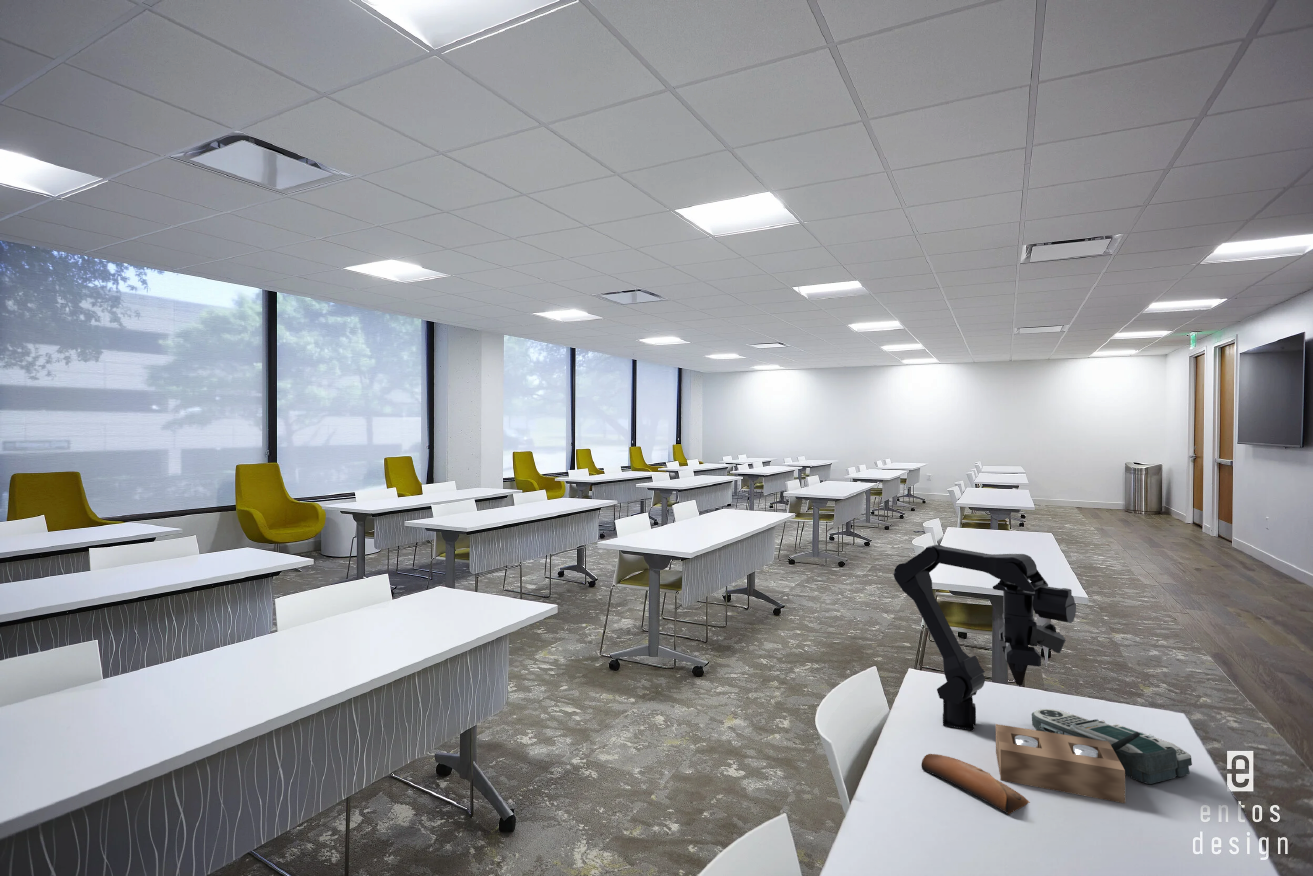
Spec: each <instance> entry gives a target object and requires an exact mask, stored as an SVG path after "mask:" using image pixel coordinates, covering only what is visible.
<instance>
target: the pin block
mask: <svg viewBox="0 0 1313 876" xmlns="http://www.w3.org/2000/svg"><path fill="white" fill-rule="evenodd" d="M1018 735H1023V736H1029V737H1032V738H1034V739H1036V740H1037V741H1038V748H1035V747H1029V746H1023V745H1017V744H1015V736H1018ZM1074 745H1086V746H1089V747H1092V748H1094V749H1096V750H1097V751H1098V758H1096V757H1090V756H1084V755H1078V754H1073V746H1074ZM995 755H996V760H997V766H998V771H999V778H1000V781H1003V782H1008V783H1015V784H1020V785H1023V786H1024V785H1025V786H1031V787H1036V788H1042V789H1047V790H1052V791H1057V792H1062V793H1067V794H1073V795H1079V796H1083V797H1084V796H1085V797H1087V798H1088V797H1089V798H1094V799H1101V800H1106V801H1109V802H1110V801H1111V802H1116V803H1121V804H1126V775H1125V770H1124V768H1123V766H1122V764H1121V762H1120V761H1119V759H1118V757H1117V755H1116V753H1115V752H1114V750H1113V748H1112V746H1111V744H1110V743H1109V742H1108V741H1102V740H1095V739H1089V738H1082V737H1076V736H1069V735H1063V734H1057V733H1050V732H1044V731H1037V730H1036V729H1029V728H1023V727H1015V726H1010V725H1003V724H997V723H995Z"/></svg>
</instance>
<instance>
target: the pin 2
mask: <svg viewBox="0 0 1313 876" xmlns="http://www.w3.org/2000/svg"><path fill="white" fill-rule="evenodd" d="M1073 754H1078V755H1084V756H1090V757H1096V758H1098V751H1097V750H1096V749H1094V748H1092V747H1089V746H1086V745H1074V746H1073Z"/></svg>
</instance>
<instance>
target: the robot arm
mask: <svg viewBox="0 0 1313 876" xmlns="http://www.w3.org/2000/svg"><path fill="white" fill-rule="evenodd" d="M939 564H943V565H946V566H951V567H957V568H963V569H967V570H972V571H977V572H983V573H986V574H988V575H990V576H992V577H993V578H996V579H998V580H999V581H998V583H996V584H994V585H992V589H993V590H997V591H1001V592H1002V594H1003V596H1002V598H1003V599H1002V601H1003V602H1002V603H1003V604H1002V606H1003V611H1002V621H1003V626H1002V627H1001V628H999V629H998V631H999V633H998V635H999V636H998V637H999V638H998V639H999V641H1000V642H1004V643H1005V644H1006V646H1005V645H1004V646H1001V649H1002V652H1003V656H1004V658H1005V660H1006V663H1007V665H1008V668H1009V670H1010V672H1011V674H1012V677H1013V679H1014V683H1015V684H1016V685H1017V686H1023V684H1024V680H1025V676H1026V672H1027V669H1028V666H1031V667H1041V666H1042V655H1041V654H1040V651H1038V650H1037V649H1036V648H1038V645H1040V646H1043V647H1044V648H1047V649H1050V650H1051V651H1053V653H1056V654H1061V652H1062V649H1063V647H1064V646H1065V643H1066V641H1067V640H1066V638H1065V637H1064V636H1065V635H1063V634H1061V633H1060V632H1057V629H1056V628H1057V627H1056V626H1055V624H1053V623H1050V622H1048V621H1047V622H1046V623H1044V624H1043V625H1042V624H1037V622H1036V620H1035V617H1034V614H1035V615H1037V616H1038V617H1039V618H1042V619H1047V620H1052V621H1058V622H1063V623H1069V624H1072V623H1073V622H1074V620H1075V618H1076V614H1077V603H1076V601H1075V598H1074V596H1073V594H1072V592H1073V591H1072V589H1071V588H1067V587H1066V588H1065V587H1062V588H1061V587H1053V586H1049V584H1048V582H1047V581H1046V580H1045V578H1044V577H1043V576H1042V575H1041V572H1039V570H1038V569H1037V564H1036V562H1035V560H1034V559H1033V558H1032V557H1031V556H1030V555H1028V554H1025V553H998V554H996V553H995V554H992V553H991V554H990V553H984V552H980V551H979V552H978V551H974V550H968V549H962V548H956V547H955V548H954V547H949V546H944V545H941V544H933V545H928V546H927V547H926V548H924V549H923V550H922V551H921V552H919V553H918V554H917V555H915V556H914V557H912V558H910V559H909V560H908V561H906V562H902V563H898V564H897V565H896V566H895V568H894V571H893V578H894V580H895V582H896V583H897V584H898V587H900V589H901V591H902V592H904V594H905V595H907V597H909V598H910V599H911V600H912V601H913V602H914V604H915V605H916V608H917V610H918V612H919V613H920V616H921V618H922V620H923V622H924V623H925V625H926V627H927V630H928V632H929V634H930V635H931V637H932V639H933V642H934V644H935V646H936V648H937V649H938V651H939V653H940V656H941V657H942V663H943V675H944V678H945V679H946V682H945V683H943V684H942V685H940V686H939V687H938V688H936V691H937V695H938V697H939V699H941V700H943V701H942V705H943V707H942V708H943V709H942V710H943V712H942V726H944V727H949V728H956V729H961V730H967V731H975V726H976V725H977V714H976V713H977V709H976V708H977V707H976V703H975V702H974V701H973V698H974V697H973V696H976V695H977V692H978V691H980V690H981V689H982V688H983V687H984V685H985V682H986V678H985V675H984V674H985V673H986V671H985V670H984V669H983V668H982V667H981V665H980V663H979V660H978V658H977V656H976V655H972V656H969V655H968V654H967V653H966V652H965V651H964V650H963V649H962V646H961V645H960V643H959V641H958V640H957V637H956V636H955V633H954V631H953V630H952V628H951V626H950V624H949V622H948V620H947V618H946V617H945V614H944V613H943V610H942V608H941V607H940V605H939V603H938V601H937V599H936V597H935V595H934V592H933V580H932V577H931V574H930V573H931V572H932V571H933V570H935V569H936V568H937V566H938V565H939ZM1035 647H1036V648H1035Z"/></svg>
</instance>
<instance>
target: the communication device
mask: <svg viewBox="0 0 1313 876" xmlns="http://www.w3.org/2000/svg"><path fill="white" fill-rule="evenodd" d="M1031 725H1032V727H1033V728H1034V730H1037V731H1044V732H1050V733H1057V734H1063V735H1069V736H1076V737H1082V738H1089V739H1095V740H1102V741H1108V742H1109V743H1110V744H1111V746H1112V748H1113V750H1114V752H1115V753H1116V755H1117V757H1118V759H1119V761H1120V762H1121V764H1122V766H1123V768H1124V770H1125V777H1128V778H1131V779H1133V780H1136V781H1138V782H1141V783H1143V784H1147V785H1152V784H1157V783H1160V782H1163V781H1164V782H1165V781H1168V780H1172V779H1175V778H1176V777H1178V778H1180V777H1184V776H1188V775H1189V774H1190V769H1189V767H1190V766H1192V765H1193V762H1192V755H1191V754H1190V753H1189V752H1187V751H1186V750H1184V749H1183V748H1181V747H1180V746H1178V745H1176V744H1175V743H1173V742H1169V741H1168V740H1164V739H1162V738H1159V737H1155V736H1154V735H1153V734H1150V733H1149V734H1147V733H1143V732H1140V731H1138V730H1135V729H1133V728H1130V727H1126V726H1124V725H1120V724H1117V723H1115V724H1109V723H1107V722H1106V721H1105V720H1103V719H1101V720H1099V719H1098V718H1096V719H1091V720H1090V719H1087V718H1084V717H1082V716H1079V715H1078V714H1077V715H1076V714H1074V713H1070V712H1067V711H1065V710H1059V709H1054V708H1039V709H1036V710H1035V711H1033V712H1032V713H1031Z"/></svg>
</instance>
